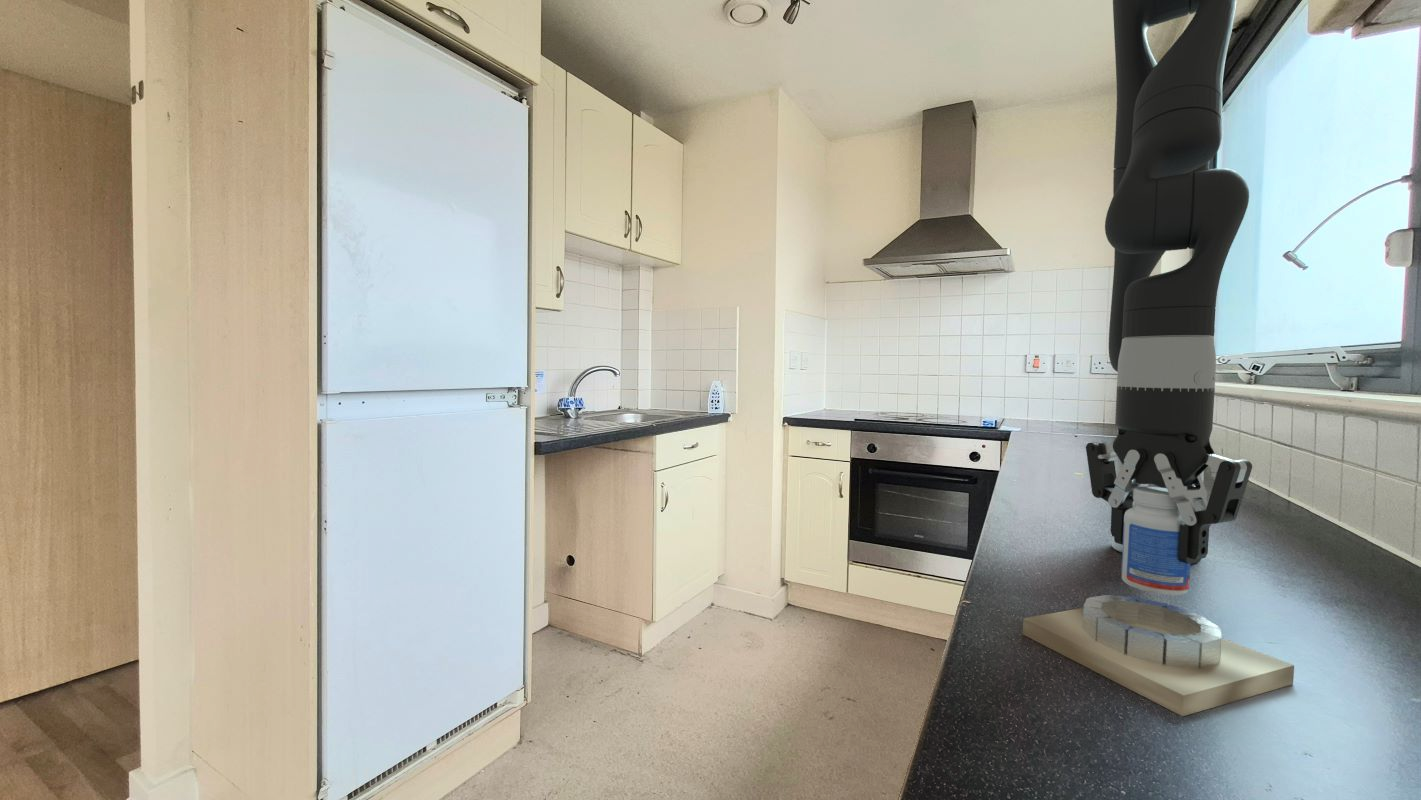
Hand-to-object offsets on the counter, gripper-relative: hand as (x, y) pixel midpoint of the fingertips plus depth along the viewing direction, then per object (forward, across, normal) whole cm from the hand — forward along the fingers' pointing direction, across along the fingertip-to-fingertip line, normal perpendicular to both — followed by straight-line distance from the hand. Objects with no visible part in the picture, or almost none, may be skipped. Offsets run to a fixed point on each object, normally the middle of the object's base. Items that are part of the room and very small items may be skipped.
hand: (1155, 551), depth 57 cm
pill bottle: (+4, 0, 0) cm, 4 cm away
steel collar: (+4, -6, +10) cm, 13 cm away
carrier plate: (+6, -6, +10) cm, 14 cm away
